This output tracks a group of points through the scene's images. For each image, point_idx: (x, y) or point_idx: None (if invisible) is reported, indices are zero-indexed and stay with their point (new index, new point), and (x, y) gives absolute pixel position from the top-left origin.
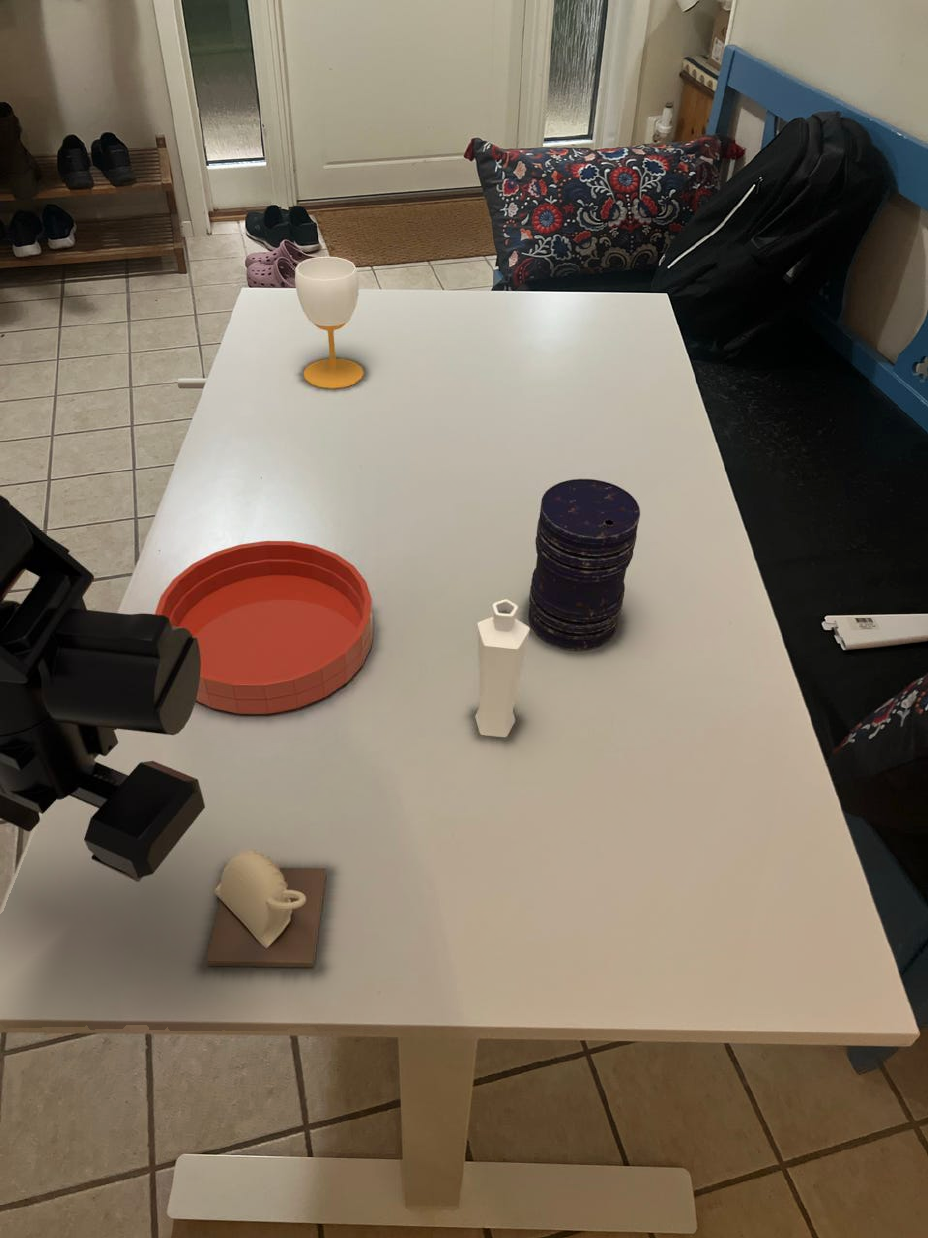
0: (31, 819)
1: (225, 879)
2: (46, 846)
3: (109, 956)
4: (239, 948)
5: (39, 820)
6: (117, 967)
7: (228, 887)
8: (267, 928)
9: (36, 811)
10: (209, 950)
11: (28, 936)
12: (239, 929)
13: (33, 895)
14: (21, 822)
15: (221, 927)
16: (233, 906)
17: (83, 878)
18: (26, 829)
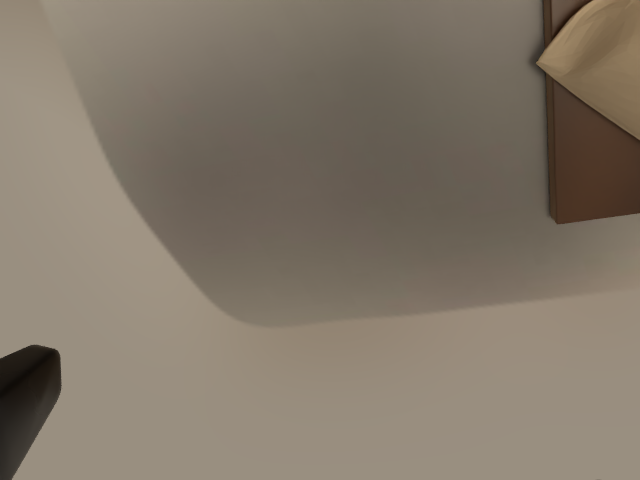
0: (29, 411)
1: (622, 87)
2: (69, 19)
3: (344, 229)
4: (629, 186)
5: (55, 352)
6: (369, 245)
7: (627, 101)
8: None
9: (17, 389)
10: (559, 202)
11: (177, 220)
12: (621, 144)
13: (128, 141)
14: (7, 469)
15: (574, 147)
16: (622, 121)
17: (199, 80)
18: (44, 418)
